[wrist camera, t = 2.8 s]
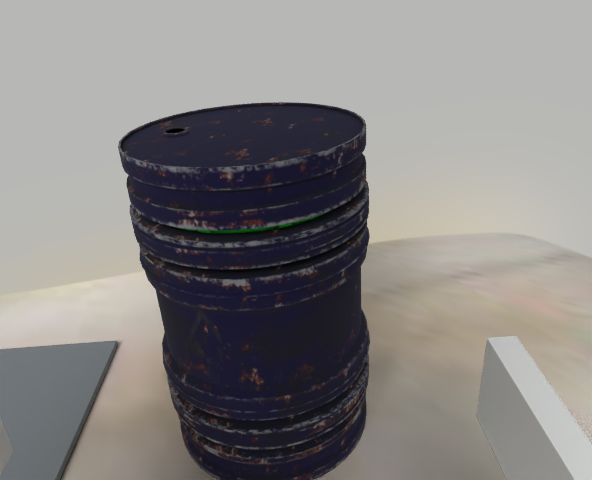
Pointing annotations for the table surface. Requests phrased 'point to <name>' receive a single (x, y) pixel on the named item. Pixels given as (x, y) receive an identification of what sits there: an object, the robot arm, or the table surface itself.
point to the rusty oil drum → (258, 280)
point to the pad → (48, 403)
